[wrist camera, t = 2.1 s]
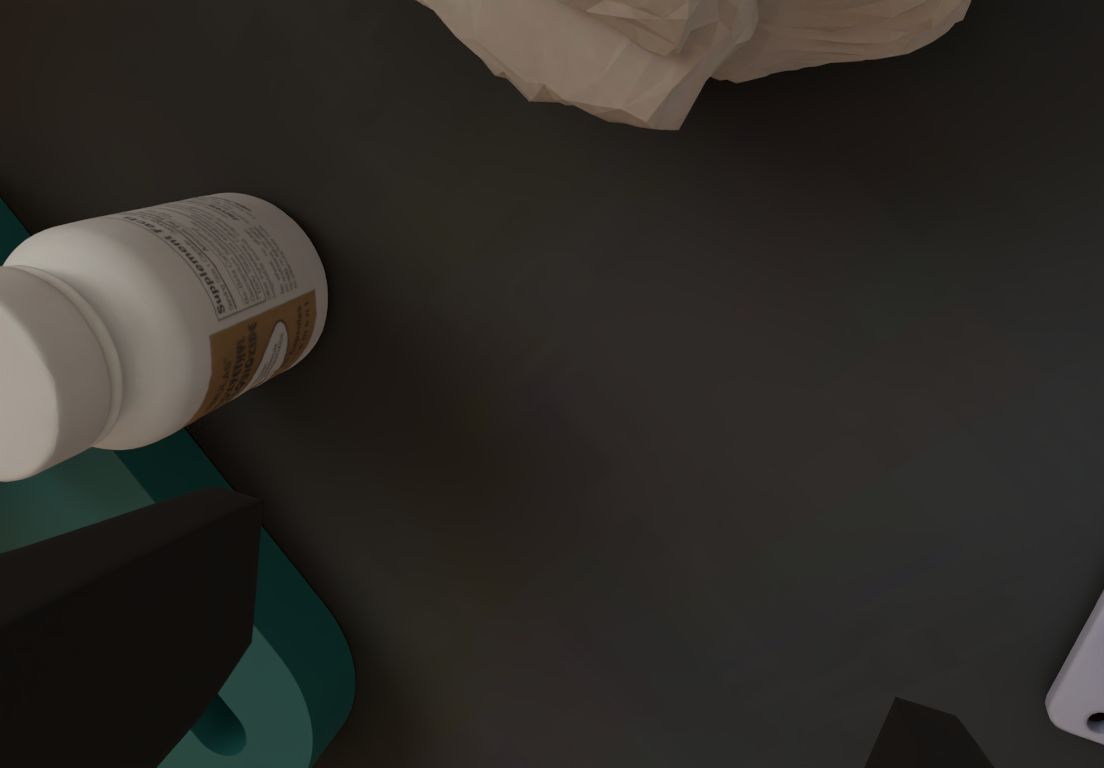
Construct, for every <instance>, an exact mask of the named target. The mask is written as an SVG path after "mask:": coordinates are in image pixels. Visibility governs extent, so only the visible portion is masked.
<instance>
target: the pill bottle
mask: <svg viewBox="0 0 1104 768" xmlns="http://www.w3.org/2000/svg"><path fill="white" fill-rule="evenodd" d="M327 308H328V288H327V281H326V276H325V271H324V267H323V265H322V262H321V260H320V258H319V256H318V254H317V251H316V249H315V248H314V246H313V244H312V243H311V241H310V239H309V238H308V236H307V235H306V234H305V232H304V231H303V230H302V229H301V228H300V227H299V225H298V224H297V223H296V222H295V221H294V220H293V219H291V218H290V217H289V216H288V215H287V214H285V213H284V212H283V211H282V210H280V209H279V208H277V207H276V206H274V205H273V204H271V203H269V202H267V201H264V200H262V199H259V198H256V197H253V196H250V195H246V194H240V193H219V194H213V195H209V196H201V197H196V198H191V199H186V200H181V201H176V202H170V203H166V204H161V205H156V206H152V207H147V208H142V209H137V210H132V211H127V212H122V213H117V214H112V215H106V216H101V217H96V218H91V219H86V220H81V221H77V222H73V223H68V224H64V225H60V226H56V227H52V228H49V229H46V230H43V231H41V232H39V233H37V234H35V235H33V236H31V237H29V238H28V239H26V240H25V241H24V242H23V243H21V244H20V245H19V246H18V247H17V248H16V249H15V250H14V251H13V252H12V253H11V255H10V256H9V257H8V258H7V260H6V261H5V263H4V264H3V266H0V481H2V482H10V481H17V480H22V479H25V478H29V477H31V476H34V475H36V474H38V473H40V472H42V471H44V470H46V469H48V468H50V467H52V466H54V465H56V464H58V463H60V462H62V461H64V460H67V459H69V458H71V457H73V456H75V455H77V454H79V453H81V452H83V451H85V450H86V449H88V448H90V447H96V448H101V449H111V450H127V449H134V448H139V447H143V446H146V445H149V444H152V443H154V442H157V441H159V440H161V439H163V438H165V437H167V436H169V435H171V434H173V433H175V432H177V431H178V430H180V429H182V428H184V427H185V426H187V425H189V424H191V423H193V422H194V421H196V420H197V419H199V418H201V417H202V416H204V415H206V414H208V413H210V412H213V411H214V410H216V409H218V408H219V407H221V406H222V405H224V404H226V403H228V402H229V401H231V400H233V399H235V398H237V397H238V396H240V395H242V394H244V393H245V392H247V391H248V390H250V389H252V388H255V387H257V386H259V385H260V384H262V383H264V382H266V381H268V380H270V379H271V378H273V377H274V376H276V375H278V374H280V373H282V372H284V371H286V370H288V369H290V368H291V367H293V366H294V365H296V364H297V363H298V362H299V361H301V360H302V359H303V358H304V357H305V356H306V355H307V354H308V353H309V352H310V351H311V349H312V348H313V347H314V345H315V344H316V343H317V341H318V339H319V337H320V335H321V333H322V331H323V328H324V324H325V320H326V315H327Z"/></svg>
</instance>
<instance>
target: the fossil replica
mask: <svg viewBox="0 0 1104 768" xmlns="http://www.w3.org/2000/svg"><path fill="white" fill-rule="evenodd" d="M416 1H418V2H420V3H421V4H423V5H425V6H427V7H429V8H430V9H432V10H434V11H435V12H436V14H437V15H438V16H439V17H440V18H441V19H442V21H443V22H444V23H445V24H446V25H447V27H448V28H449V29H450V30H451V31H452V33H453V34H454V35H455V36H456V37H457V38H458V39H459V40H460V41H461V42H462V43H464V44H465V45H466V46H467V47H468V48H469V49H471V50H472V51H473V52H474V53H475V54H476V55H478V56H479V57H480V58H481V59H482V60H483V61H484V63H485V64H486V65H487V66H488V68H489V69H490V70H491V71H492V73H493V74H494V75H495V76H499V77H503V78H507V79H508V80H509V81H510V82H511V83H512V84H513V85H514V86H515V87H516V88H517V89H518V90H519V91H520V92H521V93H522V94H523V95H524V96H525V97H526V99H527V100H528V101H533V102H560V103H562V104H564V105H575V106H576V107H578V108H580V109H582V110H584V111H586V112H588V113H590V114H592V115H595V116H597V117H599V118H601V119H603V120H605V121H608V122H616V123H627V124H629V125H632V126H636V127H639V128H640V127H643V128H650V129H659V130H679V128H680V127H681V125H682V123H683V121H684V120H685V118H686V116H687V114H688V113H689V111H690V109H691V107H692V105H693V104H694V102H695V100H696V98H697V96H698V95H699V93H700V91H701V89H702V87H703V86H704V84H705V82H706V80H707V79H708V78H709V77H712V78H715V79H717V80H726V79H727V80H730V81H732V82H734V83H740V82H745V81H749V80H753V79H757V78H761V77H765V76H768V75H769V74H772V73H777V72H782V71H788V70H798V69H801V68H803V67H814V66H820V65H824V64H828V63H836V62H854V61H863V60H875V59H880V58H886V57H892V56H898V55H904V54H909V53H911V52H913V51H915V50H917V49H919V48H921V47H923V46H925V45H927V44H930V43H932V42H933V41H935V40H936V39H938V38H939V37H941V36H942V35H943V34H945V33H946V32H948V31H949V30H950V28H951V27H952V26H953V25H954V24H955V23H956V22H959V21H962V20H963V19H964V16H965V14H966V12H967V10H968V7H969V5H970V3H971V1H972V0H416Z"/></svg>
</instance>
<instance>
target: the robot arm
mask: <svg viewBox="0 0 1104 768" xmlns="http://www.w3.org/2000/svg"><path fill="white" fill-rule="evenodd" d="M263 501H264V500H261V499H258V498H255V497H252V496H248V495H245V494H242V493H239V492H236V491H232V490H229V489H226V488H223V487H220V486H212V487H208V488H204V489H200V490H196V491H193V492H189V493H186V494H183V495H180V496H176V497H173V498H170V499H167V500H164V501H161V502H158V503H155V504H152V505H149V506H145V507H142V508H139V509H136V510H133V511H130V512H127V513H124V514H122V515H119V516H116V517H113V518H110V519H107V520H104V521H100V522H97V523H94V524H91V525H88V526H85V527H82V528H79V529H76V530H73V531H70V532H67V533H64V534H61V535H58V536H55V537H52V538H49V539H46V540H43V541H40V542H37V543H33V544H30V545H27V546H24V547H21V548H17V549H14V550H10V551H7V552H4V553H0V768H157V767H158V766H159V764H160V763H161V762H162V761H163V760H164V759H165V758H166V757H167V755H168V754H169V753H170V752H171V751H172V750H173V749H174V747H175V746H176V745H177V744H178V743H179V742H180V741H181V739H182V738H183V737H184V736H185V735H186V734H187V733H188V731H189V730H190V729H191V728H192V727H193V726H194V724H195V723H196V722H197V721H198V720H199V719H200V717H201V716H202V715H203V713H204V712H205V711H206V709H207V708H208V706H209V705H210V703H211V702H212V701H213V699H214V698H215V696H216V695H217V694H218V692H219V691H220V689H221V688H222V687H223V685H224V684H225V682H226V681H227V679H228V678H229V676H230V675H231V673H232V672H233V670H234V669H235V667H236V666H237V664H238V663H239V661H240V660H241V658H242V657H243V655H244V654H245V652H246V651H247V649H248V647H249V646H250V644H251V643H252V635H253V623H254V611H255V599H256V586H257V574H258V562H259V550H260V537H261V525H262V513H263ZM1045 705H1046V709H1047V712H1048V715H1049V718H1050V720H1051V721H1052V722H1053V723H1054V725H1055V726H1056V727H1058V728H1060V729H1062V730H1064V731H1066V732H1069V733H1072V734H1075V735H1077V736H1080V737H1083V738H1086V739H1089V740H1092V741H1095V742H1097V743H1100V744H1103V745H1104V720H1101V721H1091V720H1089V719H1088V718H1089V717H1090V716H1091V715H1092V714H1095V713H1099V712H1101V713H1104V590H1103V592H1102V594H1101V596H1100V598H1099V600H1098V601H1097V603H1096V605H1095V607H1094V609H1093V611H1092V612H1091V614H1090V616H1089V618H1088V620H1087V622H1086V624H1085V625H1084V627H1083V629H1082V631H1081V633H1080V635H1079V636H1078V638H1077V640H1076V642H1075V644H1074V646H1073V648H1072V649H1071V651H1070V653H1069V655H1068V657H1067V659H1066V660H1065V662H1064V664H1063V666H1062V668H1061V670H1060V672H1059V673H1058V675H1057V677H1056V679H1055V681H1054V683H1053V684H1052V686H1051V688H1050V690H1049V692H1048V694H1047V696H1046V700H1045ZM864 768H994V767H993V765H992V764H991V763H990V761H989V760H988V758H987V757H986V756H985V754H984V753H983V751H982V750H981V749H980V747H979V746H978V744H977V743H976V742H975V740H974V739H973V738H972V736H971V735H970V733H969V732H968V731H967V730H966V728H965V727H964V726H963V724H962V723H961V722H960V720H959V719H958V718H957V717H956V716H955V715H952V714H949V713H945V712H942V711H939V710H936V709H932V708H929V707H926V706H923V705H920V704H916V703H913V702H910V701H907V700H904V699H900V698H897V697H895V700H894V702H893V704H892V706H891V709H890V711H889V713H888V715H887V718H886V720H885V722H884V724H883V727H882V729H881V731H880V733H879V736H878V738H877V740H876V743H875V745H874V747H873V749H872V752H871V754H870V756H869V758H868V761H867V763H866V765H865V767H864Z"/></svg>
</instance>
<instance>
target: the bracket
mask: <svg viewBox="0 0 1104 768" xmlns="http://www.w3.org/2000/svg"><path fill="white" fill-rule="evenodd" d="M29 237H31V235H30V234H29V233H28V232H27V230H26V229H25V228H24V227H23V225H22V224H21V223H20V222H19V220H18V219H17V218H16V217H15V215H14V214H13V213H12V212H11V210H10V209H9V208H8V207H7V205H6V204H5V203H4V202H3V200H2V199H1V198H0V266H3V264H4V263H5V261H6V260H7V258H8V257H9V256H10V255H11V253H12V252H13V251H14V250H15V249H16V248H17V247H18V246H19V245H20V244H21V243H23V242H24V241H25V240H26V239H28V238H29ZM212 486H220V487H223V488H226V489H229V490H232V491H234V490H233V489H232V488H231V487H230V485H229V484H228V483H227V482H226V480H225V479H224V478H223V476H222V475H221V474H220V473H219V471H218V470H217V469H216V468H215V466H214V465H213V464H212V463H211V461H210V460H209V459H208V458H207V456H206V455H205V454H204V453H203V451H202V450H201V449H200V448H199V446H198V445H197V444H196V443H195V441H194V440H193V439H192V438H191V436H190V435H189V434H188V433H187V431H186V430H185V429H184V428H182V429H180V430H178V431H177V432H175V433H173V434H171V435H169V436H167V437H165V438H163V439H161V440H159V441H157V442H154V443H152V444H149V445H146V446H143V447H139V448H134V449H127V450H111V449H101V448H96V447H90V448H88V449H86V450H85V451H83V452H81V453H79V454H77V455H75V456H73V457H71V458H69V459H67V460H64V461H62V462H60V463H58V464H56V465H54V466H52V467H50V468H48V469H46V470H44V471H42V472H40V473H38V474H36V475H34V476H31V477H29V478H25V479H22V480H17V481H10V482H2V481H0V553H4V552H7V551H10V550H14V549H17V548H21V547H24V546H27V545H30V544H33V543H37V542H40V541H43V540H46V539H49V538H52V537H55V536H58V535H61V534H64V533H67V532H70V531H73V530H76V529H79V528H82V527H85V526H88V525H91V524H94V523H97V522H100V521H104V520H107V519H110V518H113V517H116V516H119V515H122V514H124V513H127V512H130V511H133V510H136V509H139V508H142V507H145V506H149V505H152V504H155V503H158V502H161V501H164V500H167V499H170V498H173V497H176V496H180V495H183V494H186V493H189V492H193V491H196V490H200V489H204V488H208V487H212ZM355 685H356V683H355V670H354V664H353V660H352V656H351V652H350V649H349V647H348V644H347V641H346V639H345V637H344V635H343V633H342V631H341V629H340V627H339V625H338V623H337V622H336V620H335V618H334V617H333V615H332V614H331V613H330V611H329V610H328V609H327V607H326V606H325V605H324V603H323V602H322V601H321V600H320V598H319V597H318V596H317V594H316V593H315V592H314V591H313V589H312V588H311V587H310V586H309V584H308V583H307V582H306V581H305V579H304V578H303V577H302V576H301V574H300V573H299V572H298V571H297V569H296V568H295V567H294V566H293V564H292V563H291V562H290V561H289V559H288V558H287V557H286V556H285V554H284V553H283V552H282V551H281V549H280V548H279V547H278V546H277V544H276V543H275V542H274V541H273V539H272V538H271V537H270V535H269V534H268V533H267V532H266V530H265V529H264V528H263V527H262V525H261V537H260V550H259V562H258V574H257V586H256V599H255V611H254V623H253V635H252V643H251V644H250V646H249V647H248V649H247V651H246V652H245V654H244V655H243V657H242V658H241V660H240V661H239V663H238V664H237V666H236V667H235V669H234V670H233V672H232V673H231V675H230V676H229V678H228V679H227V681H226V682H225V684H224V685H223V687H222V688H221V689H220V691H219V692H218V694H217V695H216V696H215V698H214V699H213V701H212V702H211V703H210V705H209V706H208V708H207V709H206V711H205V712H204V713H203V715H202V716H201V717H200V719H199V720H198V721H197V722H196V723H195V724H194V726H193V727H192V728H191V729H190V730H189V731H188V733H187V734H186V735H185V736H184V737H183V738H182V739H181V741H180V742H179V743H178V744H177V745H176V746H175V747H174V749H173V750H172V751H171V752H170V753H169V754H168V755H167V757H166V758H165V759H164V760H163V761H162V762H161V763H160V764H159V766H158V767H157V768H312V766H313V765H314V764H315V762H316V761H317V760H318V758H319V757H320V756H321V754H322V753H323V752H324V750H325V749H326V747H327V746H328V745H329V743H330V742H331V741H332V739H333V738H334V737H335V735H336V734H337V733H338V731H339V730H340V729H341V727H342V726H343V725H344V723H345V722H346V720H347V718H348V716H349V714H350V711H351V708H352V706H353V701H354V696H355Z"/></svg>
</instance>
